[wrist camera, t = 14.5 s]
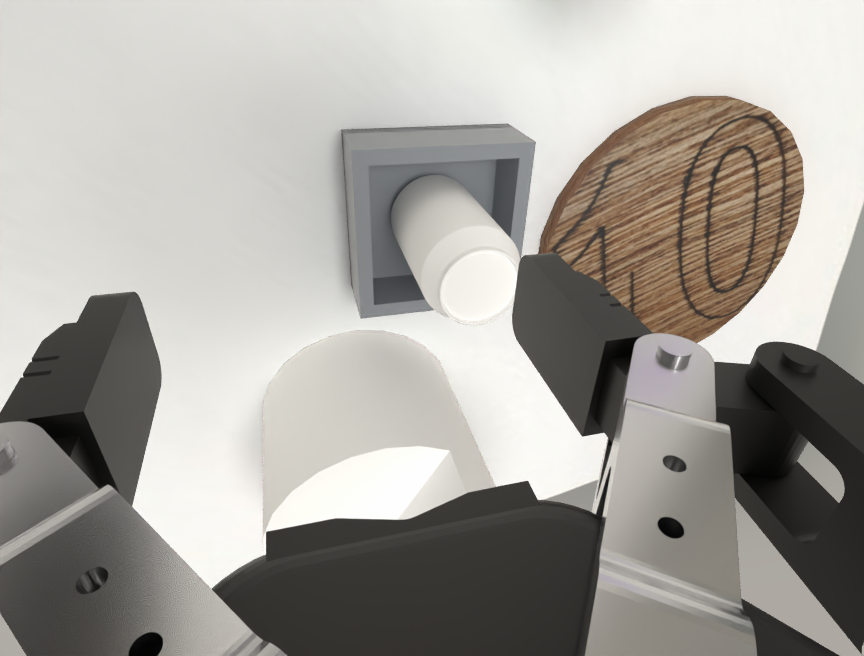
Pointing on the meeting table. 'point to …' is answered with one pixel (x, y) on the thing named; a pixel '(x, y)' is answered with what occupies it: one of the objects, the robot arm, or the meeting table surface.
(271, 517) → the white quarter cylinder
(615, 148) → the trivet
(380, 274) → the bin
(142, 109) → the meeting table surface
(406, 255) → the beverage can
